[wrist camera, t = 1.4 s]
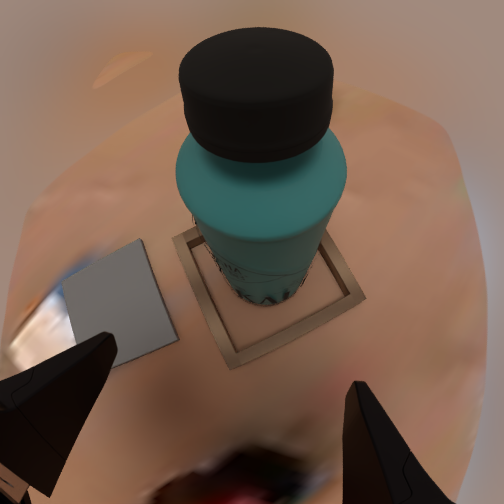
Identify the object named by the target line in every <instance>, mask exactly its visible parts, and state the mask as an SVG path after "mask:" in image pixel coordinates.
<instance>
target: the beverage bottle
mask: <svg viewBox="0 0 504 504" xmlns="http://www.w3.org/2000/svg"><path fill="white" fill-rule="evenodd" d="M333 76H334V68H333V64H332V60H331V57H330V55H329V54H328V52H327V51H326V50H325V49H324V48H323V47H322V46H321V45H319V44H318V43H317V42H315V41H313V40H312V39H310V38H308V37H306V36H304V35H301V34H298V33H295V32H292V31H288V30H283V29H277V28H266V27H255V28H242V29H236V30H231V31H227V32H224V33H220V34H217V35H215V36H212V37H210V38H208V39H206V40H204V41H202V42H200V43H199V44H197V45H196V46H194V47H193V48H192V49H191V50H190V51H189V52H188V53H187V54H186V55H185V57H184V58H183V60H182V62H181V64H180V67H179V83H180V88H181V92H182V97H183V102H184V114H185V118H186V122H187V124H188V127H189V130H190V133H189V135H188V136H187V137H186V139H185V141H184V142H183V144H182V146H181V148H180V151H179V154H178V157H177V162H176V182H177V187H178V190H179V193H180V196H181V198H182V199H183V201H184V203H185V205H186V207H187V208H188V209H189V211H190V212H191V213H192V220H193V216H194V220H195V224H196V225H198V227H199V229H200V231H201V233H202V234H201V235H203V236H204V237H203V236H202V237H203V238H205V240H206V242H207V243H206V242H205V241H204V242H205V243H206V244H207V245H208V246H209V247H210V249H211V251H212V253H213V254H214V255H213V254H212V253H211V252H209V253H211V254H212V256H213V257H212V256H211V257H212V258H213V259H214V258H216V260H215V259H214V260H215V263H216V262H217V264H218V263H219V264H218V266H219V265H220V267H221V268H220V267H219V268H220V271H221V269H222V271H223V272H224V273H223V274H225V276H226V278H227V279H228V281H229V283H230V285H231V286H232V287H231V290H232V288H233V289H234V290H235V292H236V293H237V294H238V295H239V296H240V297H241V298H240V299H242V298H244V299H245V300H247V301H249V303H250V302H252V303H256V305H257V306H258V304H262V305H269V304H273V305H275V303H277V304H278V303H279V302H280V303H281V301H283V300H285V301H286V299H287V298H288V297H290V298H291V295H292V294H293V293H294V292H295V291H296V290H297V289H298V287H299V286H300V284H301V282H302V280H303V278H304V276H305V274H306V272H307V270H308V268H309V266H310V264H311V262H312V260H313V258H314V256H315V254H316V252H317V250H318V247H319V245H320V244H319V243H322V242H320V241H321V238H322V236H323V234H324V231H325V229H326V227H327V224H328V222H329V219H330V217H331V215H332V212H333V210H334V208H335V207H336V205H337V203H338V201H339V200H340V198H341V195H342V193H343V190H344V187H345V183H346V178H347V166H346V159H345V156H344V152H343V149H342V147H341V145H340V143H339V141H338V139H337V138H336V136H335V135H334V133H333V132H332V131H331V130H330V129H329V128H328V127H329V124H330V119H331V114H332V108H333V100H332V89H333ZM193 225H194V224H193ZM198 227H196V229H197V228H198ZM199 229H197V230H199ZM198 232H199V231H198ZM199 234H200V233H199ZM199 234H198V235H199ZM199 236H200V235H199ZM200 238H201V236H200ZM201 240H202V239H201ZM203 240H204V239H203ZM205 247H206V245H205ZM206 248H207V247H206ZM208 251H209V250H208ZM314 261H315V260H314ZM218 266H217V267H218ZM222 271H221V273H222ZM223 274H222V275H223ZM308 274H309V273H308ZM308 274H307V276H308ZM307 276H305V277H307ZM223 277H224V275H223ZM224 279H225V278H224ZM305 279H306V278H305ZM305 279H304V281H305ZM225 280H226V279H225ZM304 281H303V283H304ZM226 282H227V281H226ZM303 283H302V284H303ZM227 284H228V283H227ZM228 285H229V284H228ZM301 286H302V285H301ZM295 293H296V292H295ZM295 293H294V294H295ZM239 296H238V297H239ZM292 297H293V296H292ZM243 301H244V300H243ZM245 302H246V301H245ZM247 303H248V302H247ZM282 303H283V302H282ZM273 305H272V306H273Z"/></svg>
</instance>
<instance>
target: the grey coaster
mask: <svg viewBox="0 0 504 504" xmlns="http://www.w3.org/2000/svg"><path fill="white" fill-rule="evenodd" d="M62 287H63V292H64V297H65V301H66V306H67V310H68V314H69V318H70V322H71V326H72V330H73V333H74V337H75V340H76V344H79V343H81V342H83V341H85V340H87V339H89V338H91V337H93V336H95V335H97V334H99V333H101V332H103V331H106V332H109V333H112V334H113V335H114V337H115V340H116V344H117V347H118V353H117V356H116V358H115V361H114V363H113V365H112V368H114V367H117V366H119V365H122V364H124V363H127V362H129V361H132V360H134V359H136V358H139V357H141V356H144V355H146V354H148V353H151V352H153V351H155V350H158V349H160V348H162V347H165V346H167V345H169V344H171V343H174V342H176V341H178V340H180V339H179V337H178V335H177V332H176V330H175V328H174V325H173V323H172V320H171V318H170V315H169V313H168V310H167V308H166V305H165V303H164V300H163V298H162V295H161V292H160V290H159V287H158V284H157V282H156V279H155V276H154V273H153V271H152V268H151V265H150V262H149V259H148V256H147V253H146V250H145V247H144V244H143V241H142V240H141V239H140V238H139V239H137V240H135V241H134V242H132V243H130V244H128V245H126V246H124V247H122V248H120V249H118V250H117V251H115V252H113V253H111V254H109V255H107V256H106V257H104V258H102V259H100V260H98V261H97V262H95V263H93V264H91V265H89V266H88V267H86V268H84V269H82V270H81V271H79V272H77V273H75V274H74V275H72V276H70V277H69V278H67V279H65V280H63V281H62ZM112 368H111V369H112Z"/></svg>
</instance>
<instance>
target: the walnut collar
mask: <svg viewBox="0 0 504 504" xmlns="http://www.w3.org/2000/svg"><path fill="white" fill-rule="evenodd" d="M196 227H198V226H195V227H193V228H191V229H189V230H187V231H185V232H183V233H181V234H179V235H177V236H175V237H173V238H172V240H173V243H174V245H175V248H176V250H177V253H178V255H179V258H180V260H181V263H182V265H183V268H184V270H185V273H186V275H187V277H188V280H189V282H190V285H191V287H192V289H193V292H194V294H195V296H196V299H197V301H198V303H199V305H200V308H201V310H202V312H203V314H204V317H205V319H206V321H207V323H208V326H209V328H210V330H211V332H212V334H213V336H214V339H215V341H216V343H217V345H218V347H219V349H220V351H221V353H222V355H223V358H224V360H225V362H226V364H227V366H228V368H229V370H232V369H234V368H236V367H238V366H241V365H243V364H245V363H247V362H249V361H252V360H254V359H256V358H258V357H260V356H262V355H264V354H266V353H268V352H270V351H272V350H274V349H276V348H278V347H280V346H282V345H284V344H286V343H288V342H290V341H292V340H294V339H296V338H298V337H300V336H302V335H304V334H306V333H308V332H309V331H311V330H313V329H315V328H317V327H319V326H320V325H322V324H324V323H326V322H328V321H329V320H331V319H333V318H335V317H337V316H338V315H340V314H342V313H343V312H345V311H347V310H349V309H350V308H352V307H354V306H355V305H357V304H359V303H360V302H362V301H364V300H365V299H366V297H365V295H364V293H363V291H362V290H361V288H360V286H359V284H358V282H357V281H356V279H355V277H354V275H353V274H352V272H351V270H350V268H349V267H348V265H347V263H346V262H345V260H344V258H343V257H342V255H341V253H340V251H339V250H338V248H337V246H336V245H335V243H334V242H333V240H332V238H331V237H330V235H329V233H328V232H327V230H326V229H325V231H324V234H323V236H322V238H321V241H320V242H322V243H319V244H320V245H319V247H318V249H319V251H320V253H321V254H322V256H323V258H324V260H325V261H326V263H327V265H328V266H329V268H330V270H331V272H332V273H333V275H334V277H335V279H336V281H337V282H338V284H339V286H340V288H341V289H342V291H343V293H344V295H345V297H344V298H343V299H341V300H339V301H337V302H336V303H334V304H332V305H330V306H328V307H327V308H325V309H323V310H321V311H319V312H318V313H316V314H314V315H312V316H310V317H308V318H306V319H304V320H303V321H301V322H299V323H297V324H295V325H293V326H291V327H289V328H287V329H285V330H283V331H281V332H279V333H277V334H275V335H273V336H271V337H269V338H267V339H265V340H263V341H261V342H259V343H257V344H255V345H253V346H251V347H249V348H246V349H244V350H242V351H240V352H237V350H236V348H235V346H234V344H233V342H232V340H231V338H230V336H229V333H228V331H227V329H226V327H225V325H224V323H223V321H222V319H221V317H220V314H219V312H218V310H217V308H216V306H215V304H214V301H213V299H212V297H211V295H210V293H209V290H208V288H207V286H206V284H205V281H204V279H203V277H202V275H201V272H200V270H199V268H198V265H197V263H196V261H195V258H194V256H193V254H192V251H191V248H193V247H195V246H197V245H199V244H201V243H203V242H204V241H205V242H206V240H205V238H203V237H204V236H203V235H201V234H202V233H201V231H200V229H199V227H198V228H197V229H199V230H197V229H196ZM198 231H199V232H198ZM199 233H200V234H199ZM198 234H199V235H200V236H201V238H200V236H199V235H198ZM202 236H203V237H202ZM201 239H202V240H201ZM203 239H204V240H203Z"/></svg>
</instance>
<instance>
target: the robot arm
mask: <svg viewBox="0 0 504 504" xmlns="http://www.w3.org/2000/svg"><path fill="white" fill-rule="evenodd" d="M117 353H118V347H117V344H116V340H115V337H114V335H113V334H112V333H109V332H106V331H103V332H101V333H99V334H97V335H95V336H93V337H91V338H89V339H87V340H85V341H83V342H81V343H79V344H77V345H75V346H73V347H71V348H69V349H67V350H65V351H63V352H61V353H59V354H57V355H55V356H53V357H51V358H49V359H47V360H45V361H43V362H41V363H39V364H37V365H36V366H33V367H31V368H29V369H27V370H25V371H23V372H21V373H19V374H16V375H14V376H12V377H9V378H7V379H4V380H1V381H0V504H31V500H30V497H29V493H28V491H27V489H28V488H29V486H32V487H33V488H35V489H36V490H38V491H39V492H41V493H42V494H44V495H46V496H47V497H49V498H50V496H51V494H52V492H53V490H54V487H55V485H56V483H57V481H58V478H59V476H60V474H61V472H62V469H63V467H64V465H65V463H66V460H67V458H68V456H69V454H70V452H71V450H72V447H73V445H74V443H75V441H76V439H77V437H78V435H79V433H80V431H81V429H82V427H83V425H84V423H85V421H86V419H87V417H88V415H89V413H90V411H91V409H92V407H93V405H94V403H95V402H96V400H97V398H98V396H99V394H100V392H101V390H102V388H103V386H104V384H105V382H106V380H107V378H108V375H109V373H110V370H111V368H112V365H113V363H114V361H115V358H116V356H117ZM342 442H343V503H342V504H455V503H454V502H452V501H451V500H450V499H448V498H447V496H446V495H445V494H444V493H443V492H442V491H441V489H440V488H439V487H438V486H437V485H436V484H435V482H434V481H433V480H432V479H431V478H430V476H429V475H428V474H427V473H426V471H425V470H424V469H423V467H422V466H421V465H420V463H419V462H418V460H417V459H416V457H415V456H414V454H413V453H412V451H410V448H409V447H408V445H407V444H406V442H405V441H404V439H403V437H402V436H401V434H400V433H399V431H398V430H397V428H396V427H395V425H394V424H393V422H392V421H391V419H390V418H389V416H388V415H387V413H386V412H385V410H384V409H383V407H382V406H381V404H380V403H379V401H378V400H377V398H376V397H375V395H374V394H373V392H372V391H371V390H370V388H369V387H368V385H367V384H366V382H364V381H354V382H353V383H352V385H351V387H350V389H349V390H348V392H347V395H346V398H345V411H344V423H343V438H342Z"/></svg>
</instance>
